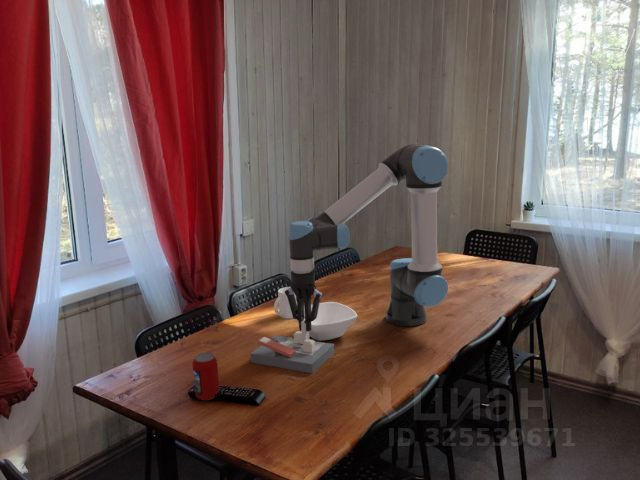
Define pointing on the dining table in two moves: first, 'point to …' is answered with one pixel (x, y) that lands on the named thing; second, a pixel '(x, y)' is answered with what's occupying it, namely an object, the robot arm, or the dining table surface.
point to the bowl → (331, 321)
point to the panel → (298, 360)
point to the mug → (283, 304)
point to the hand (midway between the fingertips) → (305, 339)
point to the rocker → (276, 346)
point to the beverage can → (205, 376)
